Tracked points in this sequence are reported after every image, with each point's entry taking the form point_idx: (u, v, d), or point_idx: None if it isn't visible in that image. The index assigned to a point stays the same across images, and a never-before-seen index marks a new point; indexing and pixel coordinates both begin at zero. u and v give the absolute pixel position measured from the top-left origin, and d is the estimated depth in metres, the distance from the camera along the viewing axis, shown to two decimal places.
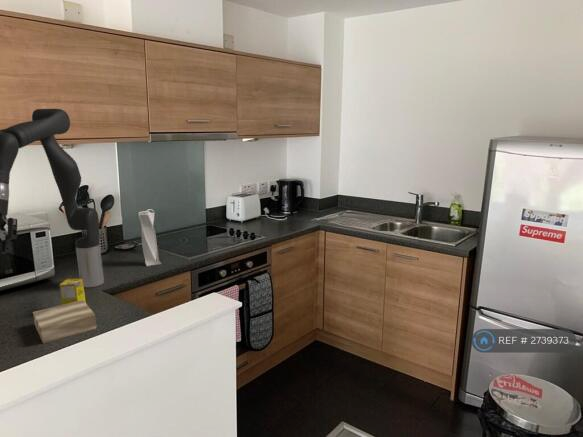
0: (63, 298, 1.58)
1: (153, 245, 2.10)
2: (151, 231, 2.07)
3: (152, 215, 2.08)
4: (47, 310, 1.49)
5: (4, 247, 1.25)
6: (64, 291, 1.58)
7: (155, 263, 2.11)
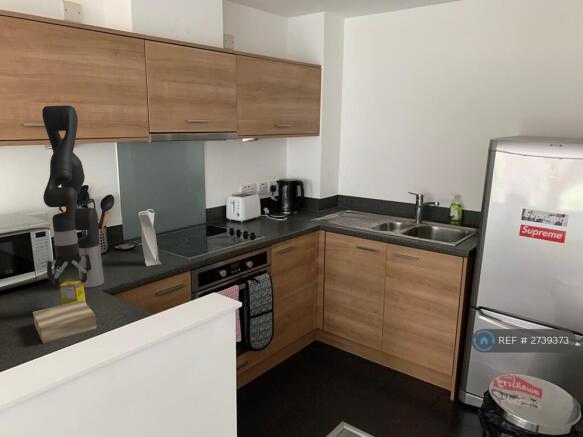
0: (63, 299, 1.58)
1: (153, 245, 2.10)
2: (151, 231, 2.07)
3: (152, 215, 2.08)
4: (47, 310, 1.49)
5: (85, 277, 1.62)
6: (64, 291, 1.58)
7: (155, 263, 2.11)
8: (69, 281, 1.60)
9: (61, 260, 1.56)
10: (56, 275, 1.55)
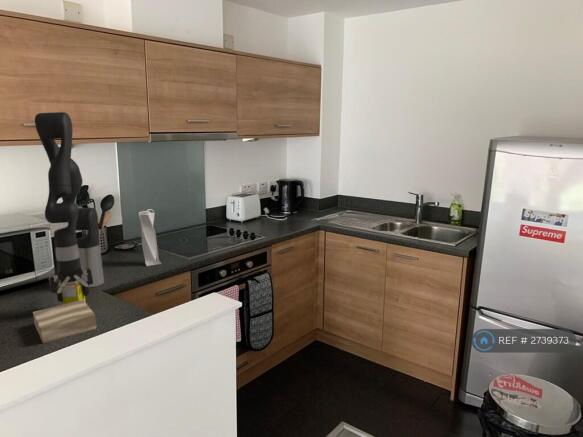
0: (64, 297, 1.59)
1: (153, 245, 2.10)
2: (151, 231, 2.07)
3: (152, 215, 2.08)
4: (47, 310, 1.49)
5: (87, 291, 1.64)
6: (64, 290, 1.58)
7: (155, 263, 2.11)
8: None
9: (63, 275, 1.57)
10: (59, 290, 1.57)
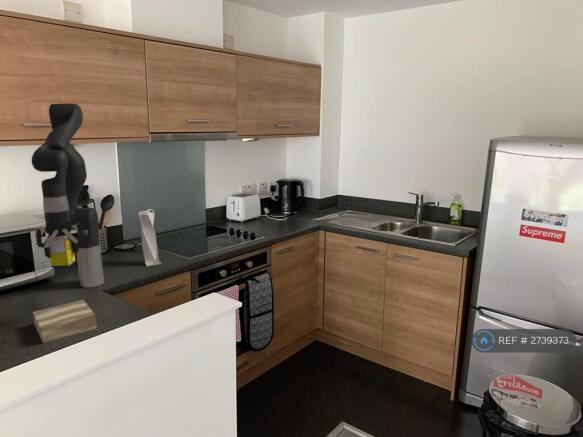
0: (51, 252, 1.49)
1: (153, 245, 2.10)
2: (151, 231, 2.07)
3: (152, 215, 2.08)
4: (47, 310, 1.49)
5: (77, 248, 1.53)
6: (52, 245, 1.48)
7: (155, 263, 2.11)
8: None
9: (51, 228, 1.47)
10: (46, 244, 1.47)
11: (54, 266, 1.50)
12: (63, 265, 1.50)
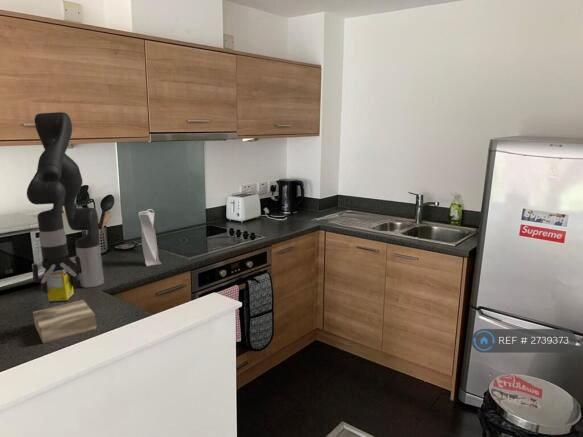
0: (49, 287, 1.42)
1: (153, 245, 2.10)
2: (151, 231, 2.07)
3: (152, 215, 2.08)
4: (47, 310, 1.49)
5: (75, 281, 1.47)
6: (49, 279, 1.42)
7: (155, 263, 2.11)
8: None
9: (48, 263, 1.41)
10: (43, 279, 1.40)
11: (52, 301, 1.43)
12: (61, 300, 1.44)
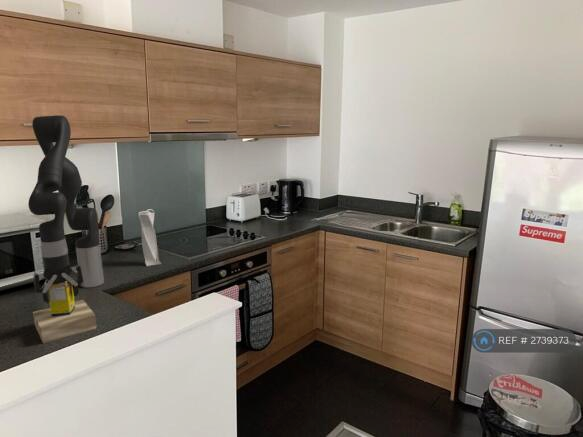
0: (51, 300, 1.44)
1: (153, 245, 2.10)
2: (151, 231, 2.07)
3: (152, 215, 2.08)
4: (47, 310, 1.49)
5: (77, 291, 1.48)
6: (52, 292, 1.43)
7: (155, 263, 2.11)
8: None
9: (50, 273, 1.41)
10: (44, 289, 1.41)
11: (54, 314, 1.45)
12: (64, 312, 1.45)
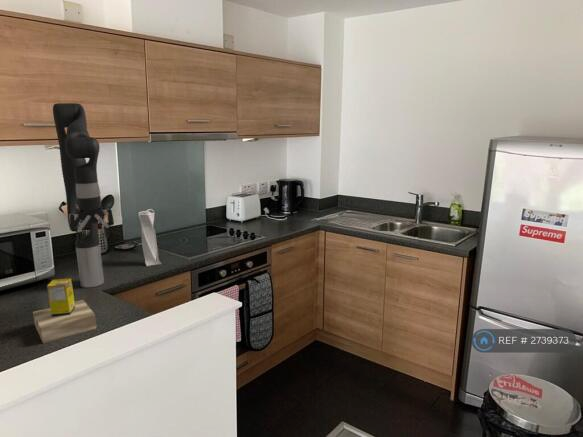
0: (51, 301, 1.43)
1: (153, 245, 2.10)
2: (151, 231, 2.07)
3: (152, 215, 2.08)
4: (47, 310, 1.49)
5: (108, 232, 1.58)
6: (52, 293, 1.43)
7: (155, 263, 2.11)
8: (57, 281, 1.46)
9: (84, 213, 1.51)
10: (79, 229, 1.51)
11: (54, 314, 1.45)
12: (64, 313, 1.45)
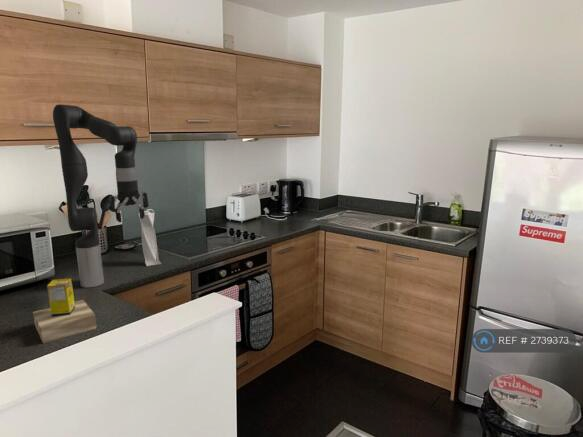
0: (51, 301, 1.43)
1: (153, 245, 2.10)
2: (151, 231, 2.07)
3: (152, 215, 2.08)
4: (47, 310, 1.49)
5: (143, 214, 1.73)
6: (52, 293, 1.43)
7: (155, 263, 2.11)
8: (57, 281, 1.46)
9: (122, 196, 1.66)
10: (118, 210, 1.66)
11: (54, 314, 1.45)
12: (64, 313, 1.45)
